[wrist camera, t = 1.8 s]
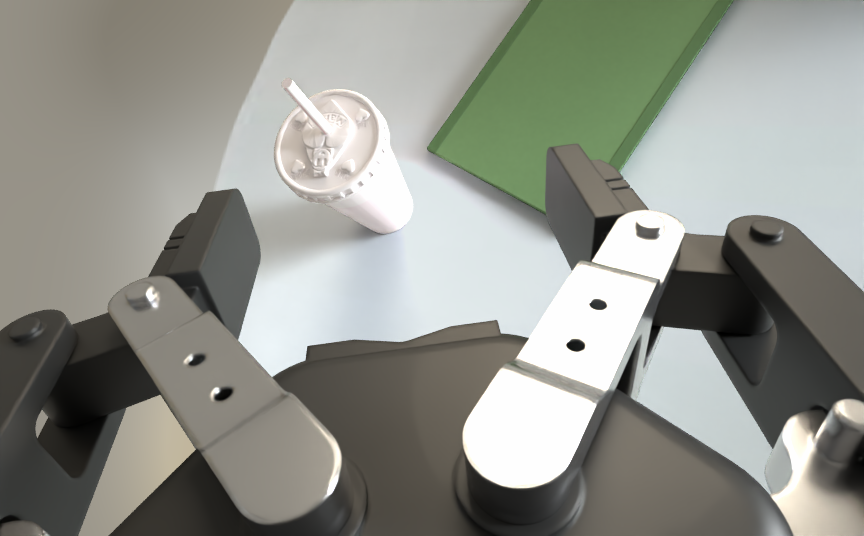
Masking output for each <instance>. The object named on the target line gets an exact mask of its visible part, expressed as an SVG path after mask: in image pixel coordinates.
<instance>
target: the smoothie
mask: <svg viewBox="0 0 864 536" xmlns="http://www.w3.org/2000/svg"><path fill="white" fill-rule="evenodd" d="M281 86H282V88H283V89H284V90H285V91H286V92H287V93H288V94H289V95H290V97H291V98H292V99H293V100H294V101H295V102H296V103H297V104H298V106H297V107H296V108H295V109H294V110H293V111H292V112H291V113H290V114H289V115H288V116H287V118H286V119H285V121H284V122H283V124H282V126H281V128H280V130H279V132H278V135H277V138H276V141H275V147H274V160H275V165H276V169H277V171H278V173H279V175H280V177H281V178H282V180H283V181H284V182H285V183H286V184H287V185H288V186H289V188H290V189H291V190H292V191H293V192H295V193H296V194H297V195H298V196H299V197H301V198H303V199H305V200H307V201H310V202H314V203H321V204H325V205H327V206H329V207H331V208H333V209H334V210H336V211H338V212H340V213H342V214H344V215H345V216H347V217H349V218H351V219H353V220H354V221H356V222H358V223H360V224H362V225H363V226H365V227H367V228H369V229H371V230H373V231H374V232H377V233H381V234H388V233H392V232H395V231H397V230H399V229H401V228H402V227H403V226H404V225H405V224H406V223H407V222H408V220H409V218H410V216H411V214H412V210H413V202H412V198H411V195H410V193H409V191H408V188H407V186H406V183H405V181H404V179H403V176H402V174H401V171H400V169H399V167H398V164H397V162H396V159H395V157H394V155H393V152H392V150H391V147H390V144H389V131H388V127H387V124H386V121H385V119H384V118H383V116H382V115H381V113H380V112H379V110H378V109H377V108H376V107H375V105H374V104H373V103H372V102H371V101H370V100H369V99H368V98H366V97H365V96H363V95H361V94H359V93H357V92H354V91H351V90H344V89H335V90H328V91H324V92H320V93H318V94H315V95H313V96H311V97H309V98H307V97H306V96H305V95H304V94H303V92H302V91H301V90H300V89H299V88H298V87H297V85H296V84H295V83H294V82H293V81H292V79H291V78H285V79H284V80H283V81H282V83H281Z"/></svg>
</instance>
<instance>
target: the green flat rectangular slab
mask: <svg viewBox="0 0 864 536" xmlns="http://www.w3.org/2000/svg"><path fill="white" fill-rule="evenodd" d="M733 1H734V0H531V1H530V2H529V4H528V5H527V6H526V8H525V9H524V11H523V12H522V14H521V15H520V16H519V18H518V19H517V21H516V22H515V24H514V25H513V26H512V28H511V29H510V31H509V32H508V33H507V35H506V36H505V38H504V39H503V41H502V42H501V43H500V45H499V46H498V48H497V49H496V50H495V52H494V53H493V55H492V56H491V58H490V59H489V60H488V62H487V63H486V65H485V66H484V68H483V69H482V70H481V72H480V73H479V75H478V76H477V77H476V79H475V80H474V82H473V83H472V85H471V86H470V87H469V89H468V90H467V92H466V93H465V95H464V96H463V97H462V99H461V100H460V102H459V103H458V104H457V106H456V107H455V109H454V110H453V112H452V113H451V114H450V116H449V117H448V119H447V120H446V122H445V123H444V124H443V126H442V127H441V129H440V130H439V131H438V133H437V134H436V136H435V137H434V139H433V140H432V141H431V143H430V144H429V146H428V147H427V149H428V151H430V152H431V153H433V154H435V155H437V156H439V157H441V158H443V159H444V160H446V161H448V162H450V163H452V164H454V165H455V166H457V167H459V168H461V169H463V170H465V171H466V172H468V173H470V174H472V175H474V176H476V177H477V178H479V179H481V180H483V181H485V182H487V183H489V184H490V185H492V186H494V187H496V188H498V189H500V190H501V191H503V192H505V193H507V194H509V195H511V196H512V197H514V198H516V199H518V200H520V201H522V202H524V203H525V204H527V205H529V206H531V207H533V208H535V209H536V210H538V211H540V212H542V213H544V214H546V208H545V185H546V155H547V150H548V148H549V147H554V146H561V145H569V144H576V143H578V144H579V145H580V146H581V148H582V149H583V151H584V152H585V153H586V155H587V156H588V157H589V159H590V160H597V159H600V160H602V161H604V162H606V163H608V164H610V165H612V166H614V167H615V168H616V169H617V170H618V172H620V171H621V169H622V168H623V166H624V165H625V163H626V162H627V160H628V159H629V157H630V156H631V154H632V153H633V151H634V150H635V148H636V147H637V145H638V144H639V142H640V141H641V139H642V138H643V136H644V135H645V133H646V132H647V130H648V129H649V127H650V126H651V124H652V123H653V121H654V120H655V118H656V117H657V115H658V114H659V112H660V111H661V109H662V108H663V106H664V105H665V103H666V102H667V100H668V98H669V97H670V95H671V94H672V92H673V91H674V89H675V88H676V86H677V85H678V83H679V82H680V80H681V79H682V77H683V76H684V74H685V73H686V71H687V70H688V68H689V67H690V65H691V64H692V62H693V61H694V59H695V58H696V56H697V55H698V53H699V52H700V50H701V49H702V47H703V46H704V44H705V43H706V41H707V40H708V38H709V37H710V35H711V34H712V32H713V31H714V29H715V28H716V26H717V25H718V23H719V22H720V20H721V19H722V17H723V16H724V14H725V13H726V11H727V10H728V8H729V7H730V5H731V4H732V2H733Z"/></svg>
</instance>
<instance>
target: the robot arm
mask: <svg viewBox="0 0 864 536" xmlns="http://www.w3.org/2000/svg"><path fill="white" fill-rule="evenodd" d="M545 208H546V215H547V219H548V222H549V225H550V227H551V229H552V231H553V233H554V235H555V237H556V239H557V241H558V243H559V245H560V247H561V249H562V251H563V253H564V255H565V257H566V259H567V261H568V264H569V266H570V268H571V270H572V273H571V274H570V276H569V277H568V279H567V280H566V282H565V284H564V285H563V287H562V288H561V290H560V291H559V293H558V294H557V296H556V297H555V299H554V301H553V302H552V304H551V305H550V307H549V308H548V310H547V311H546V313H545V315H544V316H543V318H542V319H541V321H540V322H539V324H538V325H537V327H536V328H535V330H534V332H533V333H532V335H531V336H530V338H526V337H522V336H517V335H510V334H501V333H500V329H499V325H498V322H497V320H494V321H487V322H480V323H472V324H465V325H458V326H451V327H448V328H445V329H442V330H439V331H436V332H433V333H430V334H427V335H424V336H421V337H418V338H415V339H412V340H409V341H405V342H387V341H369V340H348V341H341V342H334V343H326V344H319V345H312V346H307V354H306V361H303V362H300V363H298V364H295V365H293V366H291V367H289V368H287V369H285V370H283V371H281V372H279V373H278V374H276V375H275V376H273V377H271V376H270V375H269V374H268V373H267V371H266V370H265V369H264V368H263V367H262V366H261V365H260V364H259V363H258V362H257V361H256V360H255V358H254V357H253V356H252V355H251V354H250V353H249V352H248V351H247V350H246V349H245V348H244V347H243V345H242V344H241V343H240V342H239V341H238V338H239V335H240V331H241V328H242V324H243V321H244V317H245V313H246V310H247V306H248V303H249V299H250V296H251V292H252V289H253V285H254V282H255V278H256V274H257V271H258V267H259V264H260V258H261V254H260V245H259V241H258V238H257V235H256V232H255V229H254V227H253V224H252V221H251V218H250V216H249V213H248V210H247V207H246V205H245V202H244V199H243V197H242V194H241V193H240V191H239V190H238V189H229V190H222V191H214V192H208V193H206V195H205V197H204V198H203V200H202V202H201V204H200V206H199V208H198V210H197V212H196V213H191V214H189V215H188V216H187V217H186V218H184V219H183V220H182V221H181V222H180V223H178V224H177V225H176V227H175V229H174V230H173V232H172V234H171V236H170V238H169V239H170V240H168V241H167V243H166V245H165V247H164V250H163V251H162V253H161V254H160V256H159V258H158V260H157V262H156V263H155V265H154V267H153V269H152V271H151V273H150V274H149V276H148V277H147V278H143V279H140V280H137V281H135V282H133V283H131V284H129V285H127V286H125V287H124V288H122V289H121V290H120V291H118V292H117V293H116V294H115V295H114V296H113V297H112V299H111V300H110V302H109V304H108V313H106V314H103V315H100V316H97V317H94V318H91V319H88V320H85V321H82V322H79V323H76V324H73V325H72V324H71V323H70V322H69V320H68V319H67V317H66V316H65V314H64V313H62V312H61V311H58V310H43V311H38V312H34V313H32V314H28V315H26V316H24V317H21V318H19V319H18V320H16V321H14V322H12V323H10V324H9V325H8V326H6V327H5V328H3V329H2V330H1V331H0V536H78V534H79V532H80V529H81V526H82V524H83V521H84V519H85V516H86V513H87V510H88V508H89V505H90V503H91V500H92V498H93V495H94V492H95V490H96V487H97V484H98V481H99V479H100V476H101V474H102V471H103V469H104V466H105V463H106V461H107V458H108V455H109V453H110V450H111V447H112V445H113V442H114V440H115V437H116V434H117V431H118V429H119V426H120V424H121V421H122V419H123V416H124V413H125V410H126V408H127V407H129V406H132V405H134V404H137V403H139V402H142V401H145V400H147V399H150V398H152V397H155V396H158V395H161V396H162V398H163V399H164V401H165V402H166V404H167V405H168V407H169V409H170V410H171V412H172V413H173V415H174V416H175V418H176V419H177V421H178V422H179V424H180V425H181V427H182V428H183V430H184V432H185V433H186V435H187V436H188V438H189V439H190V441H191V442H192V444H193V446H194V447H195V449H196V450H195V451H194V452H193V453H192V454H191V455H190V456H189V457H188V458H187V459H186V460H185V461H184V462H183V463H182V464H181V465H180V466H179V467H178V468H177V469H176V470H175V471H174V472H173V473H172V474H171V475H170V476H169V477H168V478H167V479H166V480H165V481H164V482H163V483H162V484H161V485H160V486H159V487H158V488H157V489H156V490H155V491H154V492H153V493H152V494H151V495H149V497H147V499H145V501H143V502H142V503H141V504H140V505H139V506H138V507H137V508H136V510H134V512H132V513H131V514H130V515H129V516H128V517H127V518H126V519H125V520H124V521H123V522H122V523H121V524H120V525H119V526H118V527H117V528H116V529H115V530H114V531H113V532H112V533H111V534H110V535H109V536H864V292H863V291H862V290H861V289H860V288H859V287H858V286H857V285H856V284H855V283H854V282H853V281H852V280H851V279H850V278H849V277H848V276H847V275H846V274H845V273H844V272H843V271H842V270H841V269H840V268H838V267H837V266H836V265H835V264H834V263H833V262H832V261H831V260H830V259H829V258H828V257H827V256H826V255H825V254H824V253H823V252H822V251H821V250H820V249H819V248H818V247H817V246H816V245H815V244H814V243H813V242H812V241H811V240H809V239H808V238H807V237H806V236H805V235H804V234H803V233H802V232H801V231H800V230H799V229H798V228H797V227H795V226H794V225H792V224H790V223H788V222H786V221H783V220H780V219H777V218H773V217H768V216H760V215H751V216H743V217H739V218H736V219H734V220H733V221H731V222H730V223H729V224H728V227H727V230H726V234H725V236H713V235H696V234H688V233H685V229H684V226H683V224H682V223H681V222H680V221H679V220H678V219H676V218H675V217H673V216H671V215H669V214H666V213H662V212H658V211H651V210H649V209H648V208H647V207H646V206H645V204H644V203H643V202H642V201H641V199H640V198H639V197H638V195H637V194H636V193H635V192H634V190H633V189H632V188H630V185H629V184H628V183H627V182H626V180H623V177H622V175H621V174H620V173H619V172H618V170H617V169H616V168H615V167H614V166H612V165H610V164H608V163H606V162H604V161H602V160H600V159H597V160H590V159H589V157H588V156H587V155H586V153H585V152H584V151H583V149H582V148H581V146H580V145H579V144H578V143H576V144H569V145H561V146H554V147H549V148H548V150H547V155H546V185H545ZM664 327H673V328H683V329H693V330H701V331H702V333H703V335H704V337H705V338H706V340H707V342H708V343H709V345H710V347H711V348H712V350H713V352H714V353H715V355H716V357H717V358H718V360H719V361H720V363H721V365H722V366H723V368H724V370H725V371H726V373H727V375H728V376H729V378H730V380H731V381H732V383H733V385H734V386H735V388H736V390H737V391H738V393H739V394H740V396H741V398H742V399H743V401H744V403H745V404H746V406H747V408H748V409H749V411H750V413H751V414H752V416H753V418H754V419H755V421H756V422H757V424H758V426H759V427H760V429H761V431H762V432H763V434H764V436H765V437H766V439H767V441H768V442H769V444H770V446H771V447H772V449H773V450H772V452H771V454H770V456H769V459H768V461H767V463H766V466H765V477H766V481H767V484H768V486H769V489H770V492H771V494H770V495H769V493H768V492H767V491H766V490H765V489H764V488H763V487H762V486H761V485H760V484H759V483H758V482H757V481H756V480H755V479H754V478H753V477H752V476H751V475H749V474H748V473H747V472H746V471H745V470H743V469H742V468H740V467H739V466H738V465H736V464H735V463H733V462H732V461H730V460H729V459H727V458H726V457H724V456H722V455H721V454H719V453H718V452H716V451H715V450H713V449H711V448H710V447H708V446H707V445H705V444H703V443H702V442H700V441H699V440H697V439H695V438H694V437H692V436H691V435H689V434H688V433H686V432H684V431H683V430H681V429H680V428H678V427H676V426H675V425H673V424H672V423H670V422H669V421H667V420H665V419H664V418H662V417H661V416H659V415H657V414H656V413H654V412H653V411H651V410H650V409H648V408H646V407H645V406H643V405H642V404H640V403H638V402H637V401H636V400H637V397H638V393H639V390H640V387H641V384H642V381H643V379H644V376H645V374H646V371H647V369H648V366H649V364H650V361H651V359H652V356H653V354H654V351H655V349H656V346H657V344H658V342H659V339H660V337H661V334H662V332H663V328H664ZM41 410H43V411H44V412H45V414H46V415H47V416H48V419H47V421H46V423H45V425H44V427H43V429H42V431H41V433H40V435H39V437H38V438H37V437H36V431H35V425H36V420H37V418H38V415H39V414H40V412H41Z"/></svg>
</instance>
